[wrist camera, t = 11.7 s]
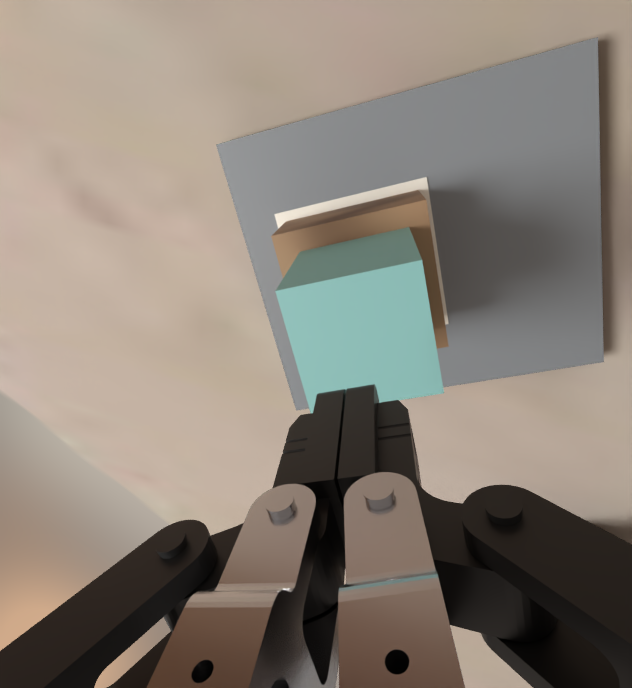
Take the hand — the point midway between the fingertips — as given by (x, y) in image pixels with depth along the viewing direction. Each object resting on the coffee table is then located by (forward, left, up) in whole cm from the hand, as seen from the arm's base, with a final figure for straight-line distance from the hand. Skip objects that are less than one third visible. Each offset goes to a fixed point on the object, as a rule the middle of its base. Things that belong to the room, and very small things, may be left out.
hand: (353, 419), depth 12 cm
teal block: (0, 0, -11) cm, 11 cm away
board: (-3, 0, -16) cm, 16 cm away
